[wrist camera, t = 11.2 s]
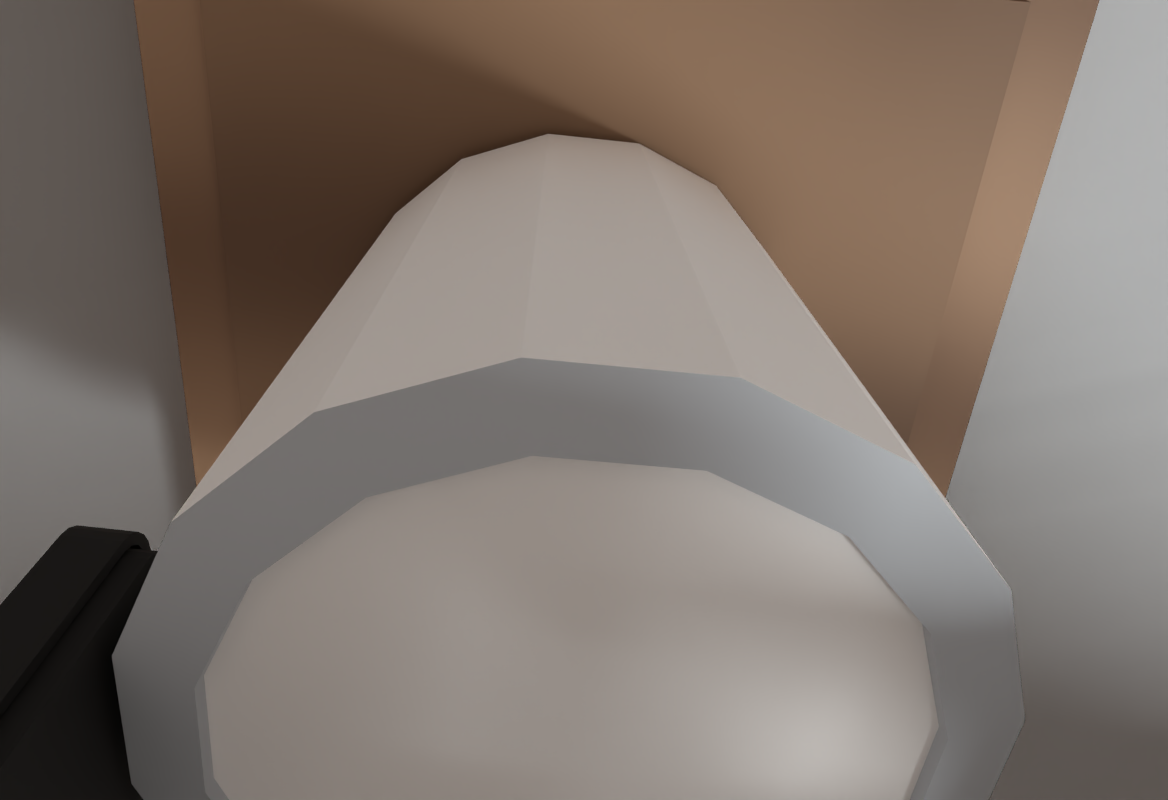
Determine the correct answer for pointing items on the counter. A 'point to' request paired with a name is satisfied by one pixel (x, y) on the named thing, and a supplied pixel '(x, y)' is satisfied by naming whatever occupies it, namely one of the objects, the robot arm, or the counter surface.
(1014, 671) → the white cup
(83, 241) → the counter surface
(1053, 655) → the counter surface
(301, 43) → the coaster
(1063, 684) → the counter surface
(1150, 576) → the counter surface
